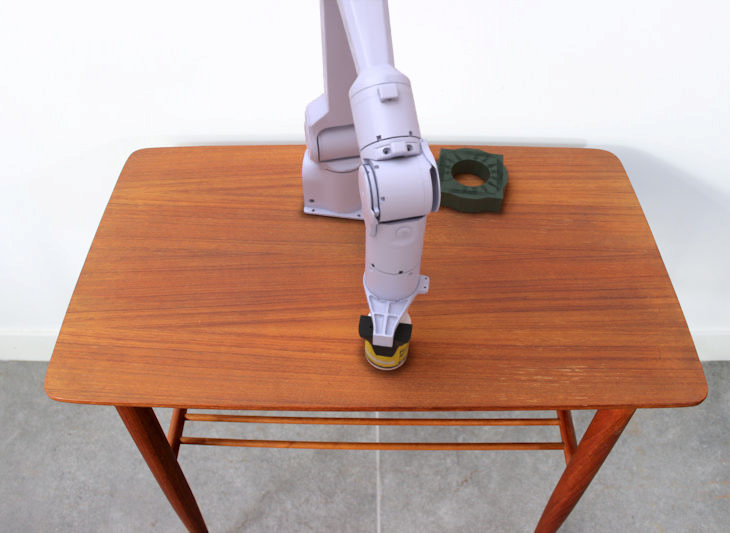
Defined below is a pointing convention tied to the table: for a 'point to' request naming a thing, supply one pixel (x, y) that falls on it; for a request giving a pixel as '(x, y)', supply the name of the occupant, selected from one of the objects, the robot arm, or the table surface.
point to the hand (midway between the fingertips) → (388, 325)
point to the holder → (477, 164)
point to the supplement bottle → (388, 362)
